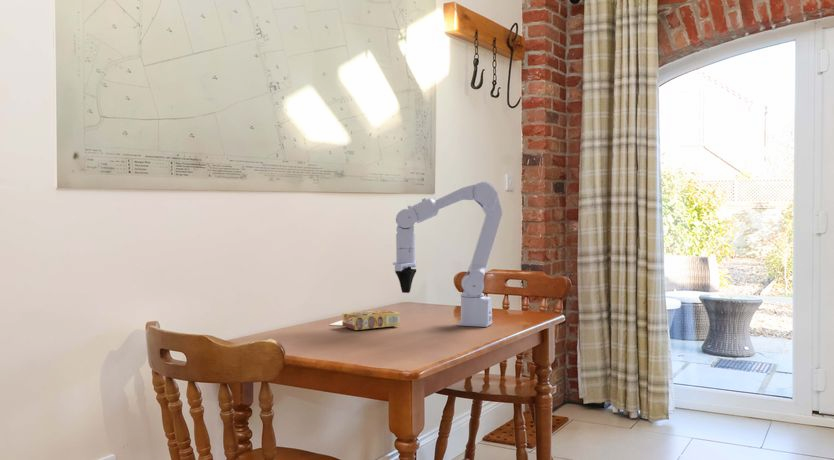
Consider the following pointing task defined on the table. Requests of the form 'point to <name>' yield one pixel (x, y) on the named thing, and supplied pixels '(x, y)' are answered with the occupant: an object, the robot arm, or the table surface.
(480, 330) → the table surface
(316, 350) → the table surface
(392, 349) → the table surface
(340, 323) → the placemat
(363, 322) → the candy box
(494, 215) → the robot arm
